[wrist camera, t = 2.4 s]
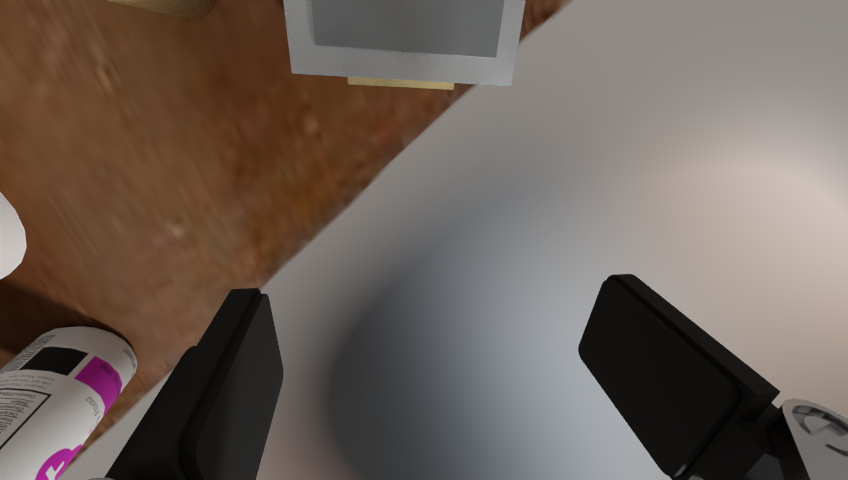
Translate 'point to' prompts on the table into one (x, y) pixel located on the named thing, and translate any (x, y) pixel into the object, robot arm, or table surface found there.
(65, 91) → the table surface
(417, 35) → the grey box
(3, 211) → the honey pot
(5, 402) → the supplement can
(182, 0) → the cylinder
